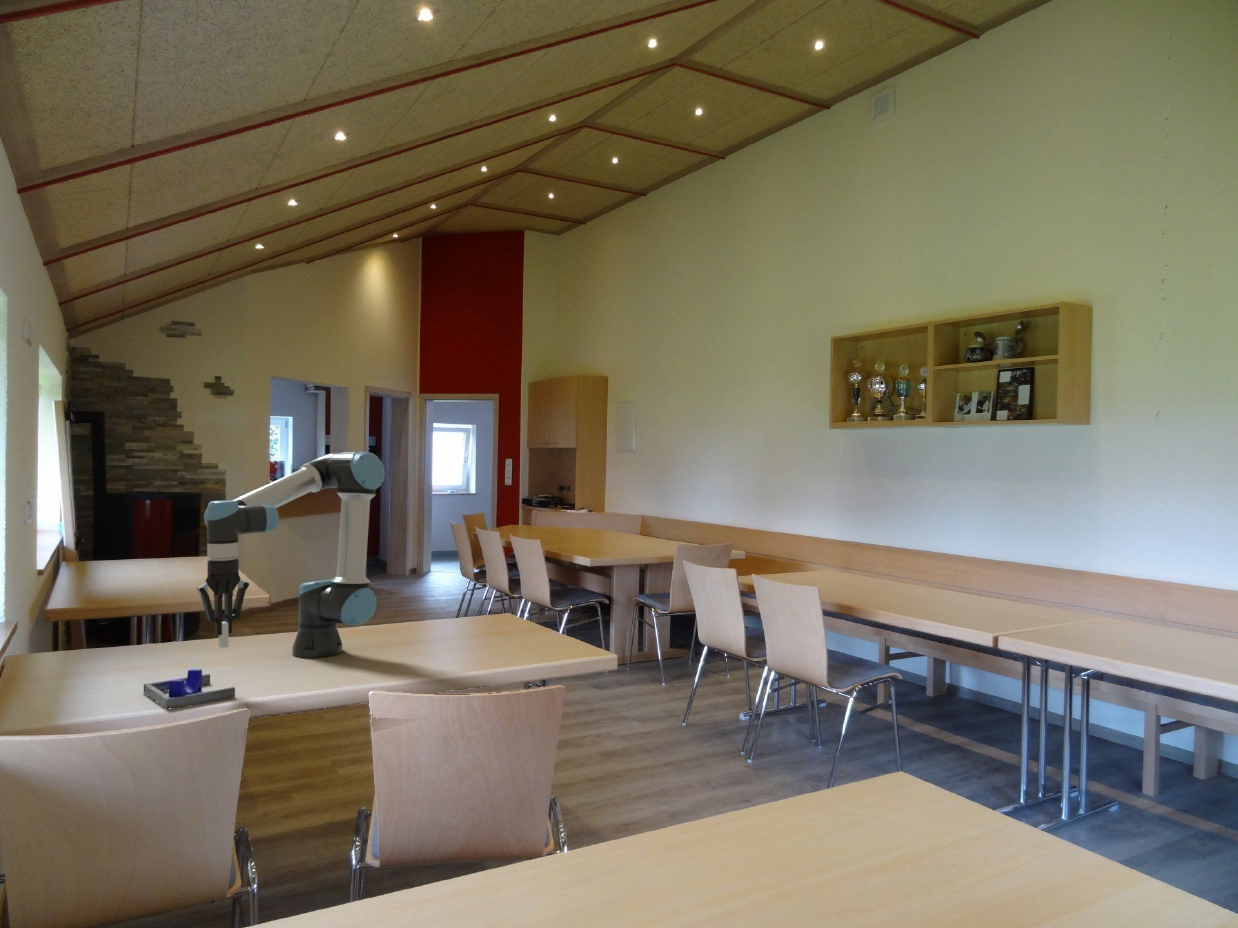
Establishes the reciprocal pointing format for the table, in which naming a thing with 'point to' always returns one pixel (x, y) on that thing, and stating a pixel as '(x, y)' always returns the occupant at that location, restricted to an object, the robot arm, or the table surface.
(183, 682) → the cable clip
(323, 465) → the robot arm
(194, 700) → the bracket
